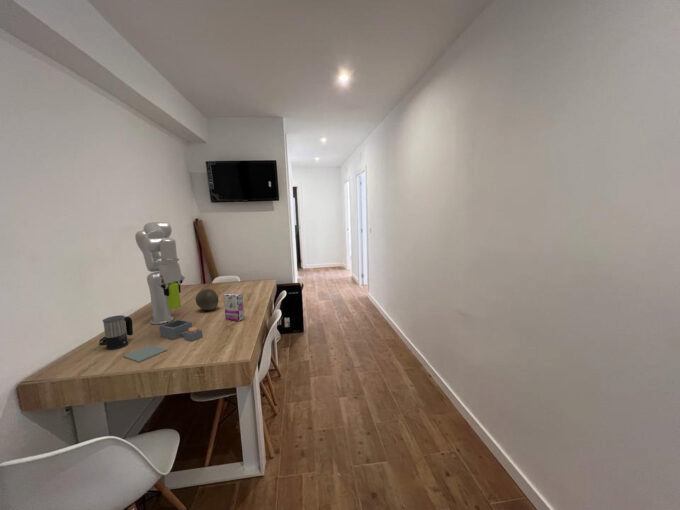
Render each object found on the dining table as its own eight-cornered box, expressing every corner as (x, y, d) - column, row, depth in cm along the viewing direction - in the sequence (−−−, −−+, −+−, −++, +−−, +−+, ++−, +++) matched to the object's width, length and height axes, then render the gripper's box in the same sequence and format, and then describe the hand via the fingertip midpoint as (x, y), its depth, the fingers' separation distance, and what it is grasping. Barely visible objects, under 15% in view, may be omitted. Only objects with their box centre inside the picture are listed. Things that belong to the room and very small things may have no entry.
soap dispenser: (169, 305, 166) (165, 270, 162) (182, 304, 166) (178, 270, 163) (164, 309, 160) (159, 273, 157) (177, 308, 161) (173, 272, 157)
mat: (123, 356, 139) (123, 355, 139) (151, 345, 150) (151, 344, 150) (139, 362, 133) (139, 361, 133) (167, 350, 144) (167, 349, 144)
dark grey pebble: (212, 306, 216) (210, 286, 214) (223, 309, 208) (221, 288, 206) (193, 311, 205) (191, 290, 203) (204, 315, 197) (202, 293, 195)
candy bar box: (244, 319, 187) (242, 293, 185) (239, 321, 182) (237, 295, 180) (230, 317, 191) (228, 292, 189) (225, 319, 187) (223, 294, 185)
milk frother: (121, 349, 147) (118, 320, 145) (86, 352, 145) (82, 323, 143) (137, 337, 161) (133, 311, 159) (105, 340, 159) (101, 313, 157)
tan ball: (187, 334, 157) (186, 328, 157) (193, 331, 161) (193, 326, 161) (192, 335, 156) (191, 330, 155) (198, 332, 159) (198, 327, 159)
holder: (160, 336, 162) (159, 325, 162) (179, 329, 172) (178, 319, 172) (187, 343, 152) (186, 332, 151) (206, 335, 162) (205, 324, 161)
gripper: (179, 259, 169) (182, 289, 171) (149, 263, 154) (152, 297, 156) (188, 259, 166) (191, 291, 168) (157, 264, 150) (161, 299, 153)
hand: (172, 293), depth 162 cm, fingers closed on soap dispenser, 5 cm apart
